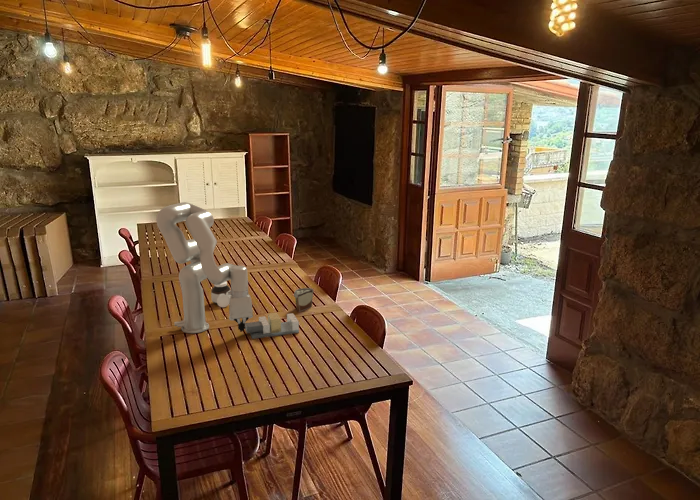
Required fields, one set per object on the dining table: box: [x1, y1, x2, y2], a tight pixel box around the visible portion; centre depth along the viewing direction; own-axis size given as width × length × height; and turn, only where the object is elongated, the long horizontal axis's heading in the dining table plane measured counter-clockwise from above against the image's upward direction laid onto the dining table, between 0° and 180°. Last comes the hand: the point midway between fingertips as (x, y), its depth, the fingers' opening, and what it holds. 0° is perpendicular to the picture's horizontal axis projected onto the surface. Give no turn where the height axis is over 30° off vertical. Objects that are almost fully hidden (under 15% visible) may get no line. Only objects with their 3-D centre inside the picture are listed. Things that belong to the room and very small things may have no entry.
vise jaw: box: [244, 315, 270, 334], centre depth 231 cm, size 10×11×4 cm
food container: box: [293, 287, 314, 313], centre depth 263 cm, size 12×6×10 cm, turn 141°
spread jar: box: [210, 281, 231, 308], centre depth 267 cm, size 12×11×12 cm
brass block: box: [267, 312, 282, 332], centre depth 234 cm, size 4×8×6 cm, turn 21°
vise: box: [249, 312, 300, 340], centre depth 234 cm, size 22×11×6 cm, turn 110°
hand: (241, 330), depth 229 cm, fingers closed
